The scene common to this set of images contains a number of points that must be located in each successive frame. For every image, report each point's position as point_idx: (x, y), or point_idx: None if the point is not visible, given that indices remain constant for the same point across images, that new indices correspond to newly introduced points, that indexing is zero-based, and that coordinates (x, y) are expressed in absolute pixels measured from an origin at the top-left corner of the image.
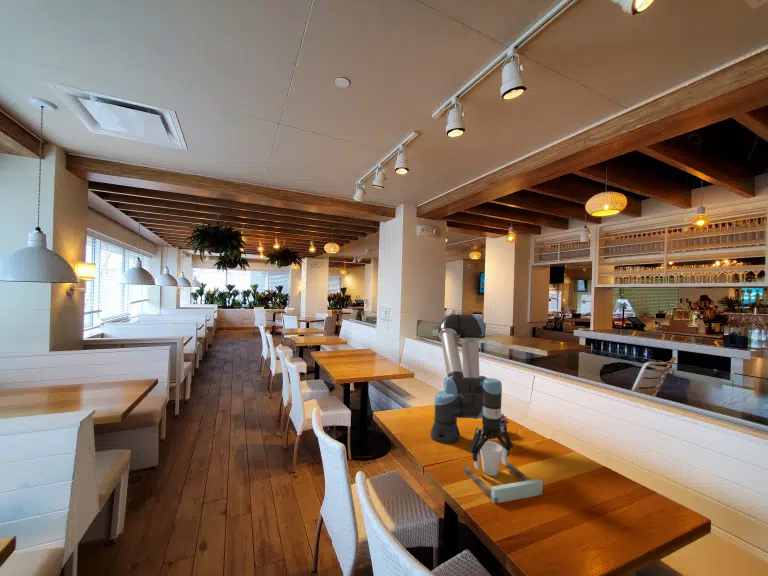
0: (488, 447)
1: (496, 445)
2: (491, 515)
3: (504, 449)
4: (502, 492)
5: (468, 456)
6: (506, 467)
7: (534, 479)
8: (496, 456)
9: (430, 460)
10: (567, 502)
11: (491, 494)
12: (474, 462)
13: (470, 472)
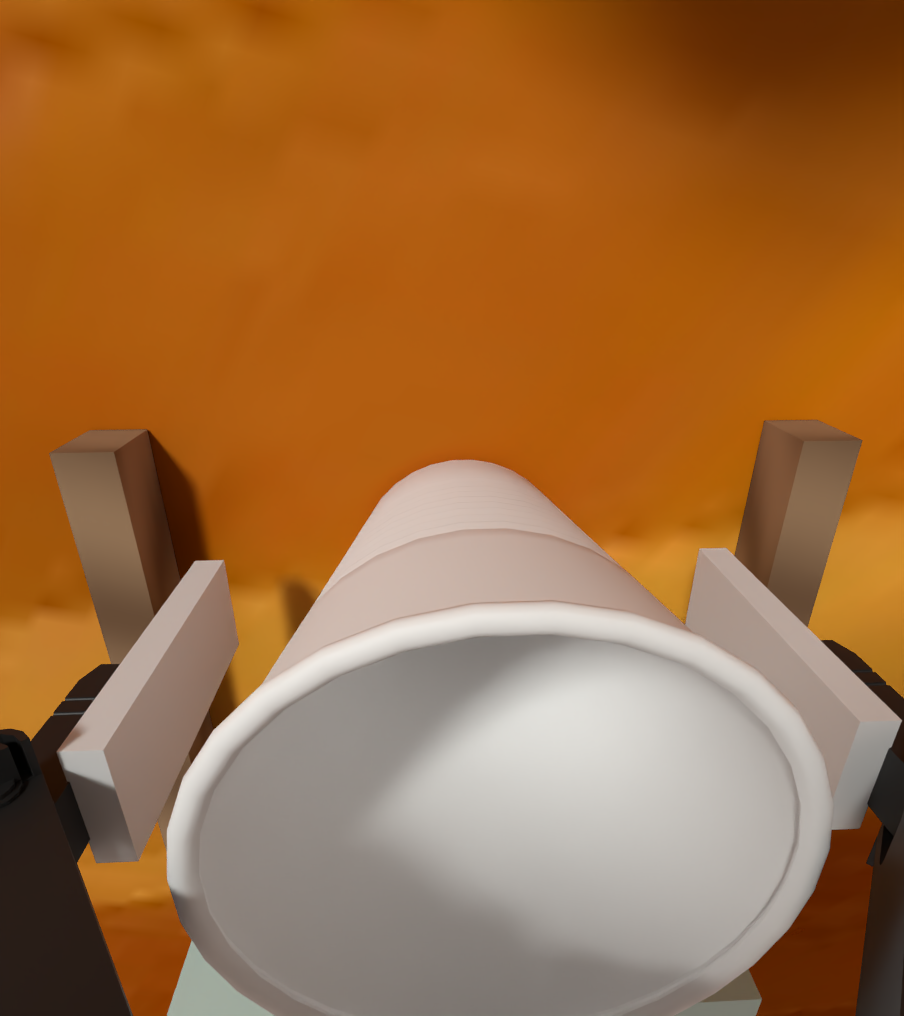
0: (590, 568)
1: (767, 733)
2: (134, 988)
3: (836, 795)
4: None
5: (360, 5)
6: (746, 508)
7: (703, 1004)
8: (470, 931)
9: None
10: (788, 967)
11: (191, 946)
12: (169, 609)
13: (107, 627)
